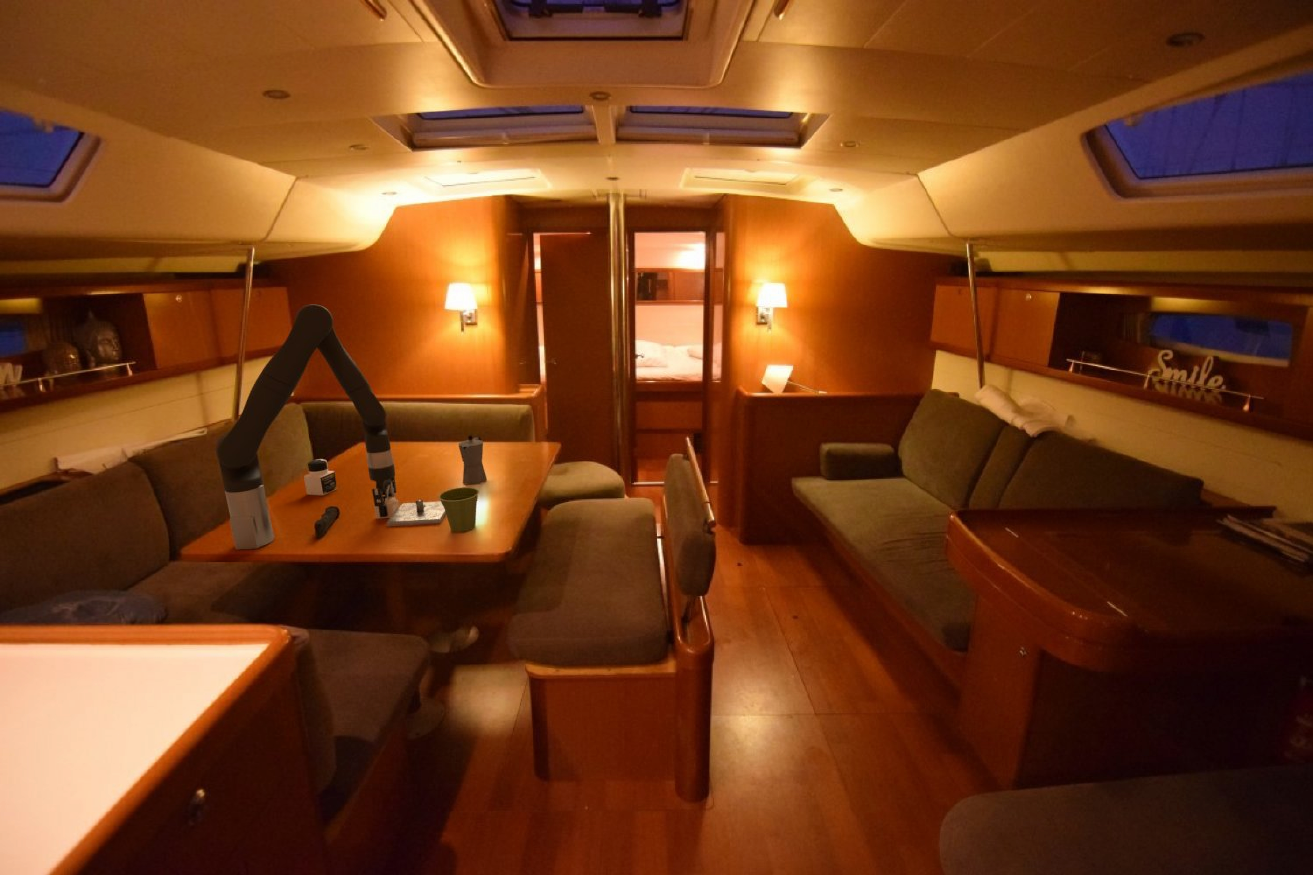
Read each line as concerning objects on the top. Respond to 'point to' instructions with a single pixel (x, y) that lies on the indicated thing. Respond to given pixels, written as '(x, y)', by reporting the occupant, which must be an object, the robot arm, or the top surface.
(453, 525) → the plant pot
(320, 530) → the hand tool
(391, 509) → the knob
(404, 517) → the block
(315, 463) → the medicine bottle
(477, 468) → the coffeepot
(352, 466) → the top surface
